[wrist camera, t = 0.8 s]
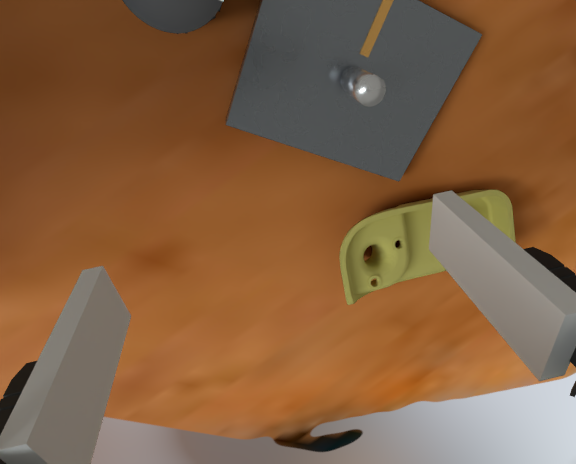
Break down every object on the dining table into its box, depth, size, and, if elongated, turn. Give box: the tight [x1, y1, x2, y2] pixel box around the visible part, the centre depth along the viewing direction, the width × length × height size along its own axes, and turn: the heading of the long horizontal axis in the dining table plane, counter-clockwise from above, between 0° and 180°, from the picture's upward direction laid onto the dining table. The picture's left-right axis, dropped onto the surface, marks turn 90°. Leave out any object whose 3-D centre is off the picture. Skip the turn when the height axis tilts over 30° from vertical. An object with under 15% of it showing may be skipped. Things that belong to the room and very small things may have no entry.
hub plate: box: [226, 0, 482, 181], centre depth 29 cm, size 18×15×6 cm
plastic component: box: [340, 190, 516, 305], centre depth 41 cm, size 20×7×10 cm
